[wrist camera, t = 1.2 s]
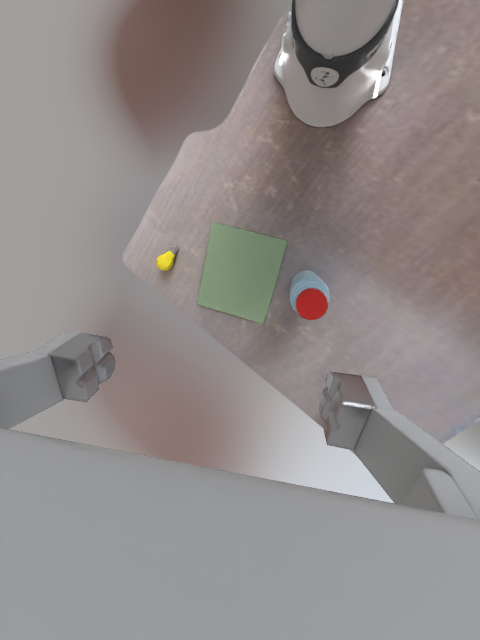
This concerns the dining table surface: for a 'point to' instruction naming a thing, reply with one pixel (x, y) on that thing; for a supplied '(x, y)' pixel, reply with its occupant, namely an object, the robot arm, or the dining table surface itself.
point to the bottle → (306, 286)
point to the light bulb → (166, 259)
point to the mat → (240, 272)
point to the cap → (311, 304)
